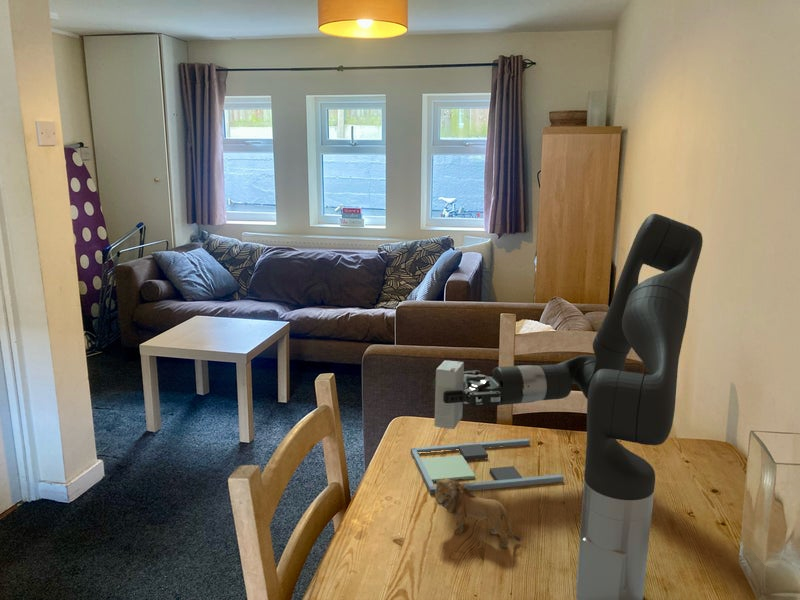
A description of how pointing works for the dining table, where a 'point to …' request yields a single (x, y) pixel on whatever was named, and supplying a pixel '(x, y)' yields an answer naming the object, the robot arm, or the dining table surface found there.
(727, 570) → the dining table surface
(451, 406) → the skincare box
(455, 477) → the pad
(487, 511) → the lion figurine
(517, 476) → the grey square block
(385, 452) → the dining table surface
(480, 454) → the grey slab
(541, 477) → the lane rails
